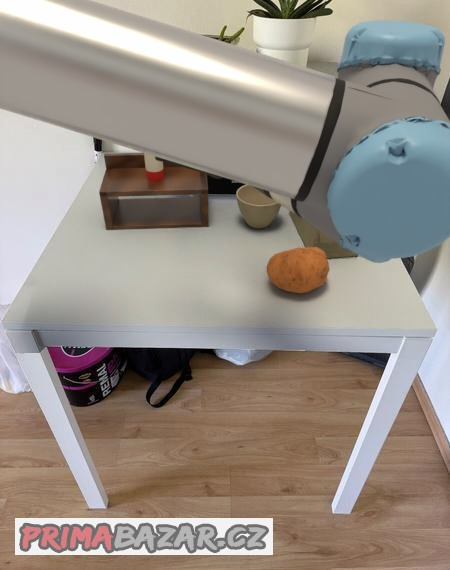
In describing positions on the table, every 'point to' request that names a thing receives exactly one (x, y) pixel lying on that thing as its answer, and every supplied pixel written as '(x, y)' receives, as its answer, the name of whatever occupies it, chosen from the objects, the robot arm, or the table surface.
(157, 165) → the red cream bottle
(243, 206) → the beige bowl
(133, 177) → the shelf
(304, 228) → the tissue box
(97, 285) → the table surface
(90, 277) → the table surface
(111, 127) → the robot arm
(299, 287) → the potato
